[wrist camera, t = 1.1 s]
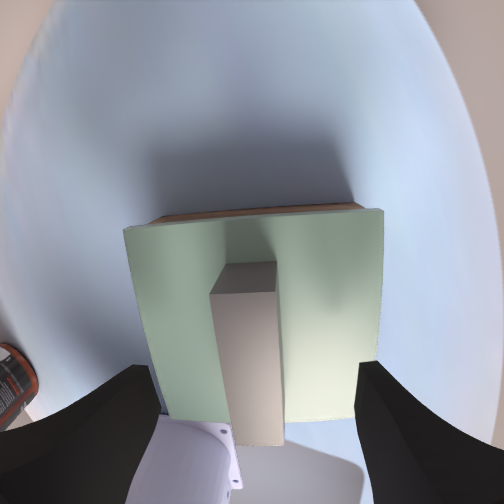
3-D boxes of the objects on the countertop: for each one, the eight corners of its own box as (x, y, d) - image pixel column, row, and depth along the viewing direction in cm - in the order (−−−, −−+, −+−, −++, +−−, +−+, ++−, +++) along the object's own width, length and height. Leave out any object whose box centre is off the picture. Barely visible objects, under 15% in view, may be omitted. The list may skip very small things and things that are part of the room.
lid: (360, 393, 16) (377, 458, 11) (179, 397, 17) (153, 458, 12) (370, 204, 13) (413, 226, 8) (141, 221, 14) (83, 248, 10)
